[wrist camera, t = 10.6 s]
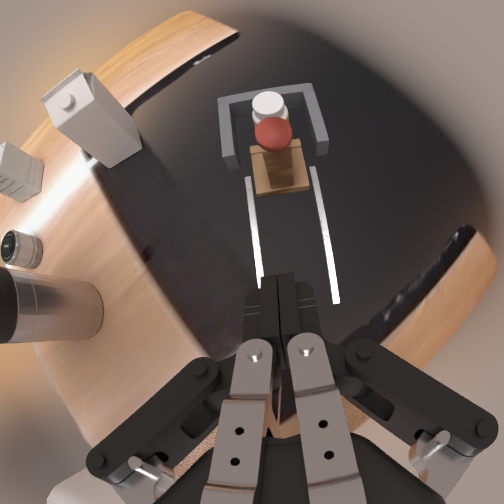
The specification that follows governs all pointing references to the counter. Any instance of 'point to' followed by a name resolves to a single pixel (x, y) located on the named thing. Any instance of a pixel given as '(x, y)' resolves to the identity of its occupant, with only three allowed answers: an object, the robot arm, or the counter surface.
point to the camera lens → (21, 250)
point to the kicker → (277, 159)
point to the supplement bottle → (268, 107)
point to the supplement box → (19, 173)
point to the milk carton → (92, 118)
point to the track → (322, 223)
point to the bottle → (84, 491)
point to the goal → (243, 107)
